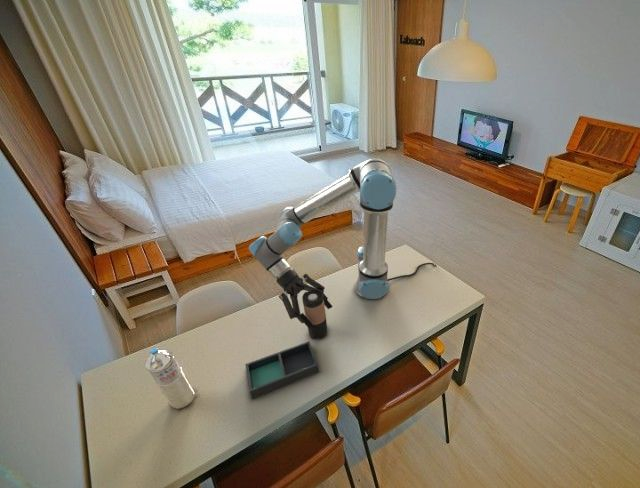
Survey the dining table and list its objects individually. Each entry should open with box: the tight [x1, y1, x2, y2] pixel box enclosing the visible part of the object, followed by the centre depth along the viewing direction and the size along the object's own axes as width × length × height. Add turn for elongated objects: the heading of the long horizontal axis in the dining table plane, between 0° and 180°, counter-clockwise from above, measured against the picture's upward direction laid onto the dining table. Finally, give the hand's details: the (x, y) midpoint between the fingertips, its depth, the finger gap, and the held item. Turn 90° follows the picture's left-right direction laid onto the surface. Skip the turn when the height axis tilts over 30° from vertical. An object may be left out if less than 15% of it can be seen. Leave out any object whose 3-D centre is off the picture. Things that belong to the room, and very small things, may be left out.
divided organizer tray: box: [245, 340, 320, 400], centre depth 113 cm, size 22×12×4 cm, turn 118°
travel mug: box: [301, 289, 328, 340], centre depth 123 cm, size 8×8×20 cm
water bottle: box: [144, 347, 196, 410], centre depth 97 cm, size 7×7×25 cm
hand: (321, 317), depth 122 cm, fingers open, 11 cm apart
